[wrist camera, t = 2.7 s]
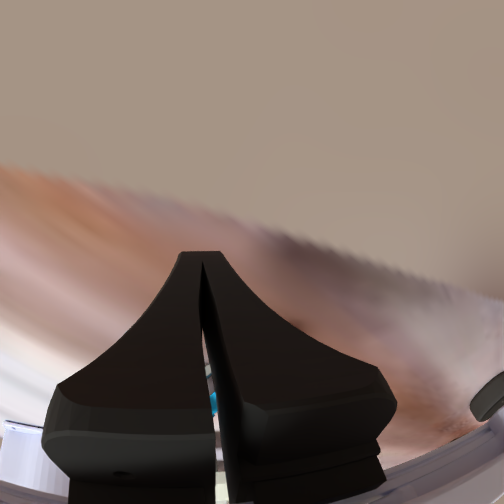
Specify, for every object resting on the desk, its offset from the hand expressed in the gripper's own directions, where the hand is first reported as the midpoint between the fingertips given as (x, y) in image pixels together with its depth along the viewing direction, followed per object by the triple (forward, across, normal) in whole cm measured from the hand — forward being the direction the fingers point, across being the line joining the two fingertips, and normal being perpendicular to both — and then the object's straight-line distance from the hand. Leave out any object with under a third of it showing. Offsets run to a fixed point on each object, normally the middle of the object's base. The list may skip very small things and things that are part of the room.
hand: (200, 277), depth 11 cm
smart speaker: (+5, -43, +27) cm, 51 cm away
